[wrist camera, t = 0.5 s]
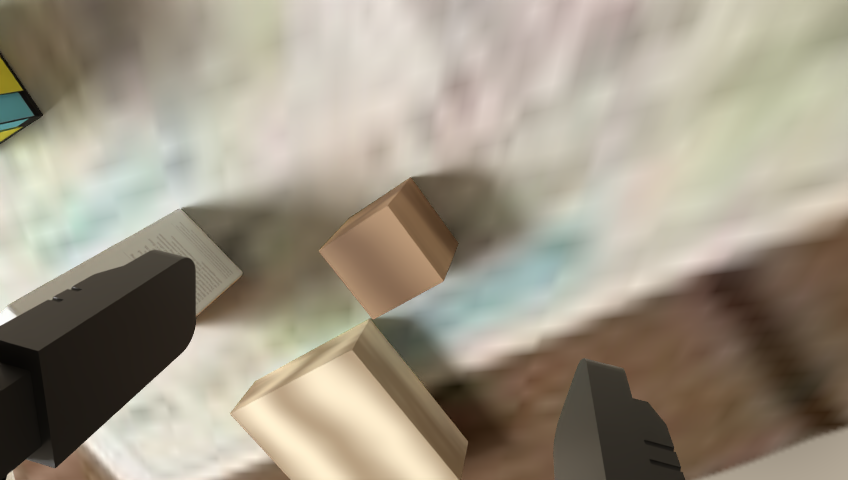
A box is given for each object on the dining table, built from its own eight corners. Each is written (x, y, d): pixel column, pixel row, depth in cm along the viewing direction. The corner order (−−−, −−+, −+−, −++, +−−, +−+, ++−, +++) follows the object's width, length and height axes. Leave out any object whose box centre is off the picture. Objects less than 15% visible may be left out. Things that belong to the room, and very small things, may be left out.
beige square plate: (371, 315, 36) (351, 349, 33) (468, 437, 39) (460, 481, 35) (257, 377, 41) (229, 413, 38) (351, 482, 44) (333, 525, 40)
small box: (185, 327, 40) (35, 459, 28) (123, 266, 39) (-59, 378, 27) (247, 273, 37) (106, 398, 25) (181, 204, 35) (2, 303, 24)
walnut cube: (411, 176, 31) (387, 205, 27) (458, 242, 32) (443, 281, 28) (349, 217, 33) (318, 250, 29) (396, 278, 34) (373, 319, 30)
